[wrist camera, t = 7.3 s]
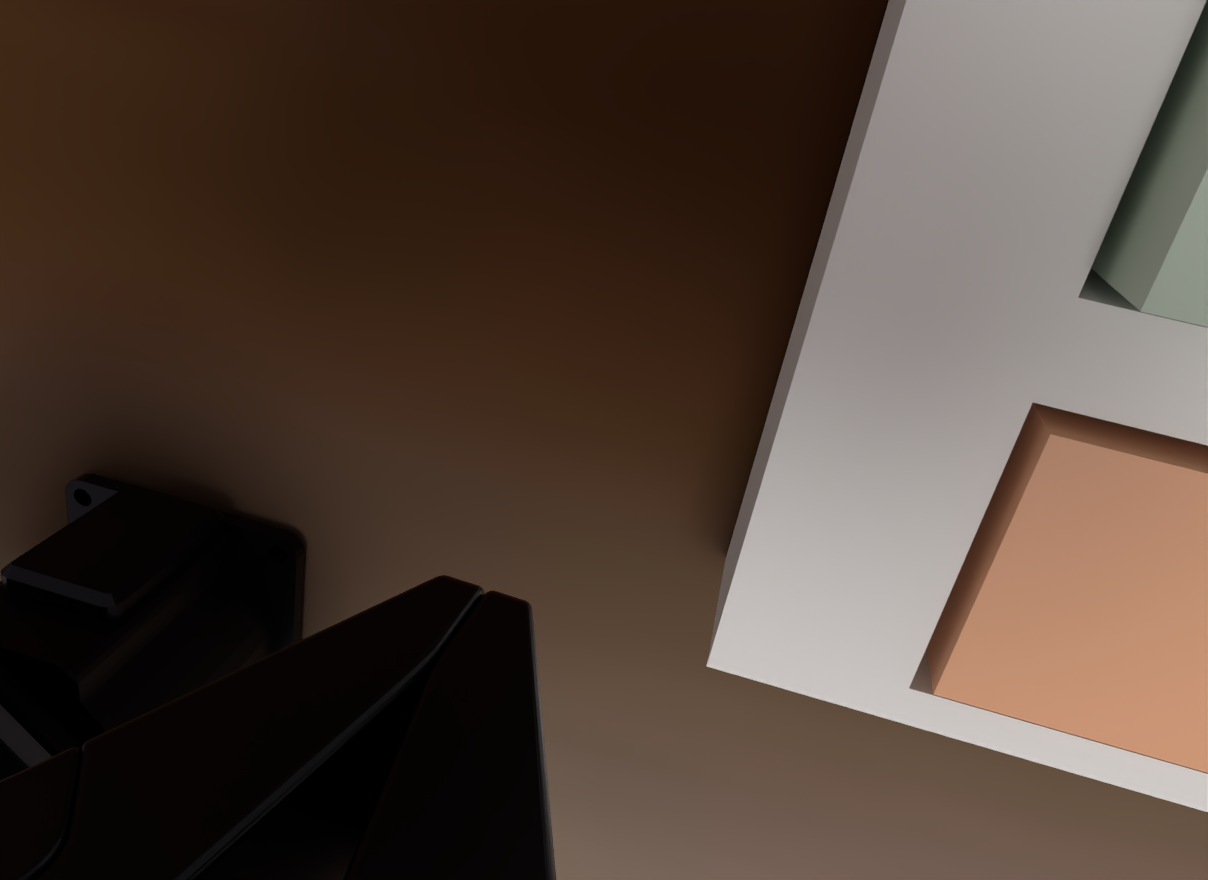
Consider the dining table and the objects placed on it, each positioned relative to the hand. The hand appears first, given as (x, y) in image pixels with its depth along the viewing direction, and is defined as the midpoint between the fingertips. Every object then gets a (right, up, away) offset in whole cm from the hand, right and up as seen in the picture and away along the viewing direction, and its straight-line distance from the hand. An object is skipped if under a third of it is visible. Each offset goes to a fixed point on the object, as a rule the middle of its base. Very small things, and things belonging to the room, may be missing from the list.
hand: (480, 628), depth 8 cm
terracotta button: (+11, 0, +10) cm, 15 cm away
